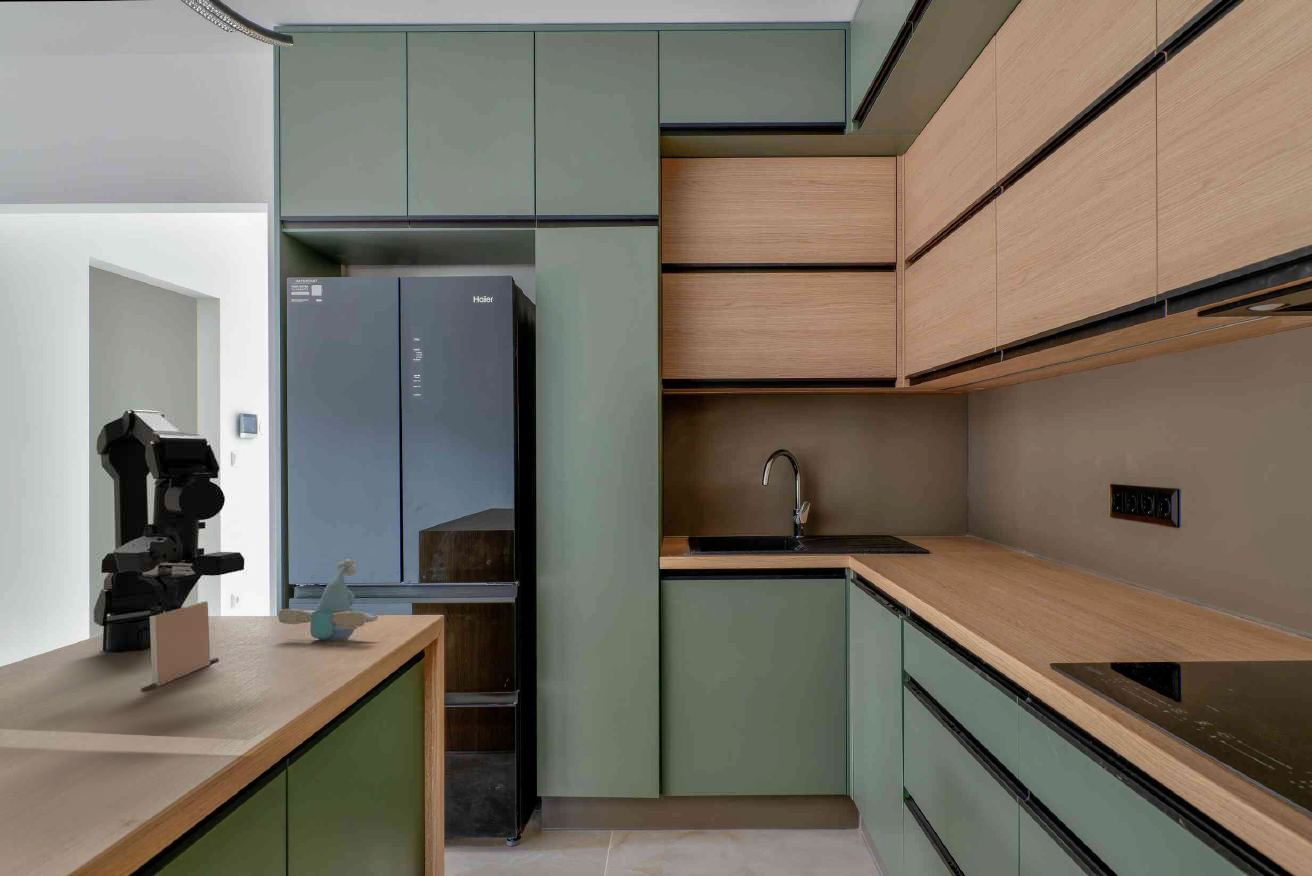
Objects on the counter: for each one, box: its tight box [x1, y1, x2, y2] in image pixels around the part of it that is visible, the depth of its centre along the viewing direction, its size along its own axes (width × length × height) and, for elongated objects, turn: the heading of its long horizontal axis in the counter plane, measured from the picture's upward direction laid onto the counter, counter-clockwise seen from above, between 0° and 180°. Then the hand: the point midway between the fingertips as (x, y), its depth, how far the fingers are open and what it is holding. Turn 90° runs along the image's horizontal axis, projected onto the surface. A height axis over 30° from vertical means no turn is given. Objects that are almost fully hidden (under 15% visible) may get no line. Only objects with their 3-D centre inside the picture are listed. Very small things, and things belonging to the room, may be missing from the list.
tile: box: [150, 600, 211, 687], centre depth 98 cm, size 10×10×1 cm
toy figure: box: [278, 558, 379, 642], centre depth 121 cm, size 17×10×15 cm, turn 84°
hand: (171, 619), depth 98 cm, fingers closed
